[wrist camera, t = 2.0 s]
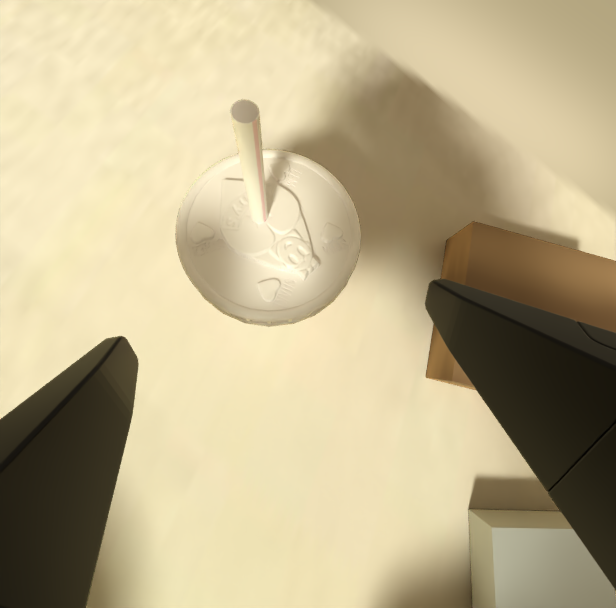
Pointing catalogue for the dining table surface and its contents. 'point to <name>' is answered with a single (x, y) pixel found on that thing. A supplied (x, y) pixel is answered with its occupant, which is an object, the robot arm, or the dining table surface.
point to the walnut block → (524, 283)
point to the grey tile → (532, 563)
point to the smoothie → (267, 231)
